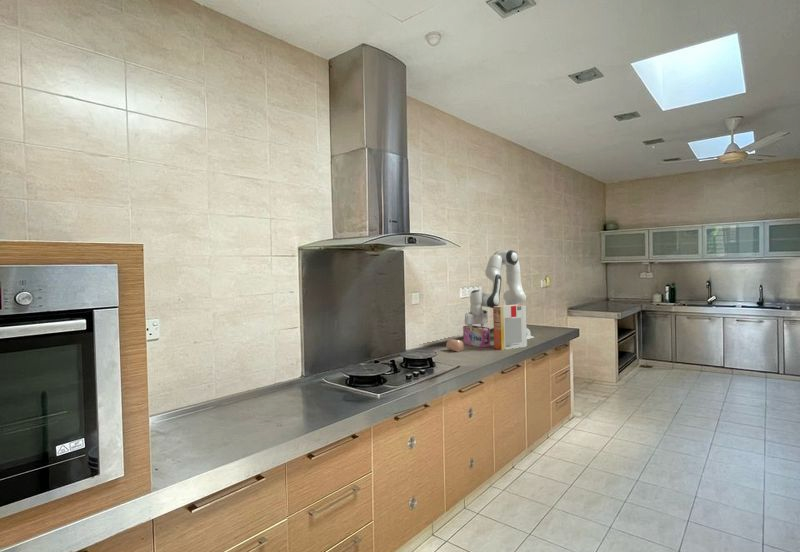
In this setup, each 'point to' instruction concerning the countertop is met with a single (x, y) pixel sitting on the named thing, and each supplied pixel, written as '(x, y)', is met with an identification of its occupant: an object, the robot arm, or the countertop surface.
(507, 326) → the pasta box
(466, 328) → the pink purple package
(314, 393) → the countertop surface
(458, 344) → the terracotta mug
